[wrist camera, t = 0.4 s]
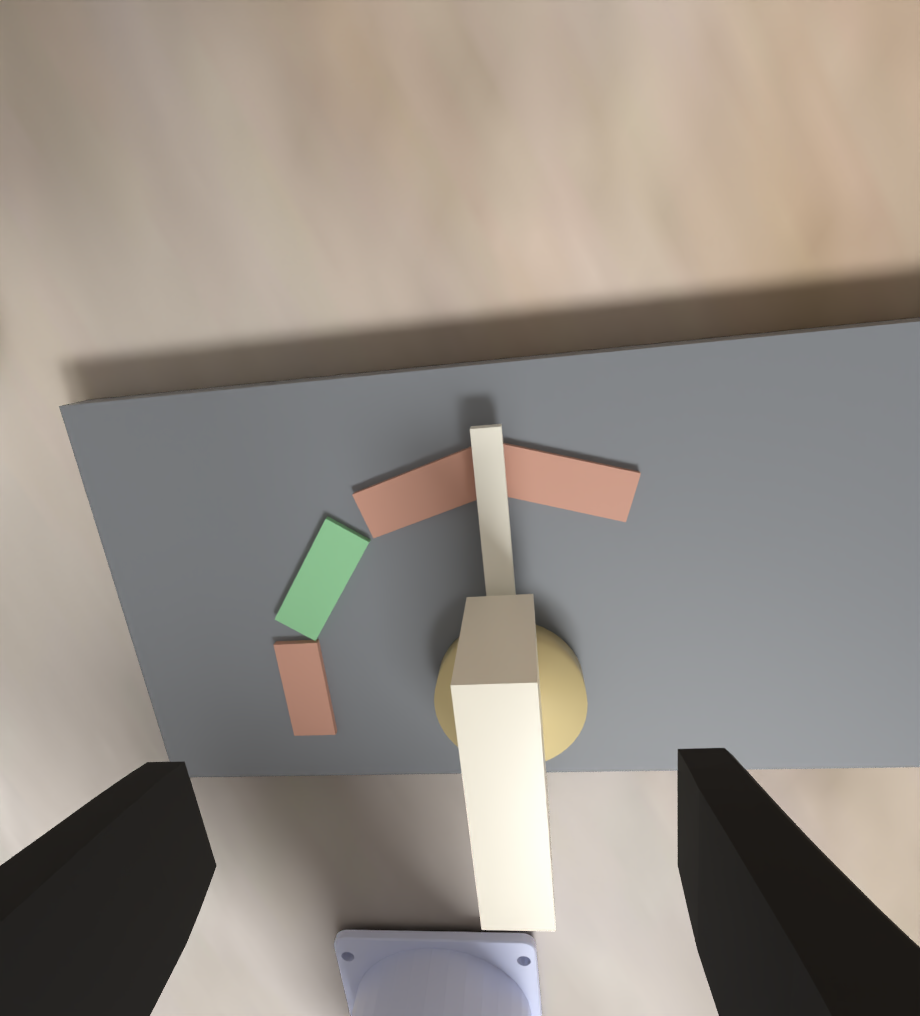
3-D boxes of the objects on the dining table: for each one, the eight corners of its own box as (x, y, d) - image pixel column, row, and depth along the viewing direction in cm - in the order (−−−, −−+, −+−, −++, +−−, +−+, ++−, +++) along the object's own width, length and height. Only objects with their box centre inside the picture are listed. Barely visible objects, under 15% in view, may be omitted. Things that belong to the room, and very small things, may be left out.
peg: (588, 776, 19) (610, 932, 14) (451, 778, 19) (429, 929, 15) (571, 415, 15) (595, 464, 11) (404, 430, 16) (356, 482, 11)
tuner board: (895, 739, 19) (923, 771, 18) (192, 753, 22) (171, 781, 21) (958, 313, 15) (1001, 314, 14) (88, 400, 18) (54, 407, 17)
